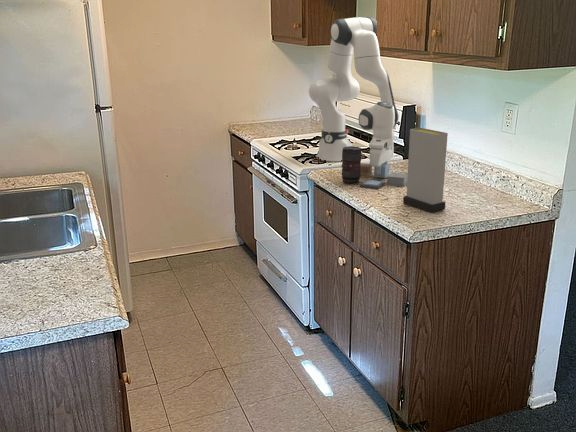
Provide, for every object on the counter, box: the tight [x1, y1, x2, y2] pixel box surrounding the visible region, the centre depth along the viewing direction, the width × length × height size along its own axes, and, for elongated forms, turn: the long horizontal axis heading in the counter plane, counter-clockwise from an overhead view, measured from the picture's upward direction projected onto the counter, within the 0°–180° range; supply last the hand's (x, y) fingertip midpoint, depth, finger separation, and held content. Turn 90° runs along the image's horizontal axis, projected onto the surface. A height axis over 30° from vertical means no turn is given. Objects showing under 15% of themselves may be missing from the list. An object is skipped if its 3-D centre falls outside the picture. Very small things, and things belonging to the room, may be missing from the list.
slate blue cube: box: [373, 163, 390, 179], centre depth 258 cm, size 5×5×5 cm
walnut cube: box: [360, 163, 373, 179], centre depth 262 cm, size 5×5×5 cm
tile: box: [359, 179, 386, 190], centre depth 247 cm, size 8×8×2 cm
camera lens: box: [341, 145, 363, 185], centre depth 250 cm, size 8×8×15 cm
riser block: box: [386, 172, 408, 187], centre depth 249 cm, size 7×7×4 cm
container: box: [402, 127, 449, 213], centre depth 215 cm, size 7×18×30 cm, turn 34°
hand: (381, 172), depth 259 cm, fingers closed on slate blue cube, 5 cm apart
